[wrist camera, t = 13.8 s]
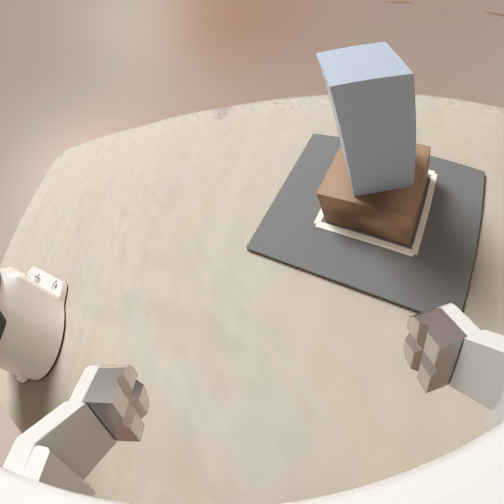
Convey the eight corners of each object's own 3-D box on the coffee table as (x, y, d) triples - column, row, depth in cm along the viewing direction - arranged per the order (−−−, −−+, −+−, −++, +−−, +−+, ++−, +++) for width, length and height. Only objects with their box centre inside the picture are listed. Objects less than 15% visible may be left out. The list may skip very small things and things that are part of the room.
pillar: (354, 196, 22) (329, 86, 14) (343, 153, 25) (316, 53, 17) (414, 186, 21) (413, 73, 13) (396, 143, 23) (385, 41, 15)
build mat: (247, 249, 29) (245, 247, 29) (314, 136, 33) (313, 133, 33) (456, 325, 19) (458, 324, 18) (483, 174, 23) (484, 171, 22)
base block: (325, 220, 27) (316, 193, 24) (353, 159, 29) (348, 130, 26) (409, 245, 23) (412, 218, 20) (427, 176, 25) (430, 146, 22)
